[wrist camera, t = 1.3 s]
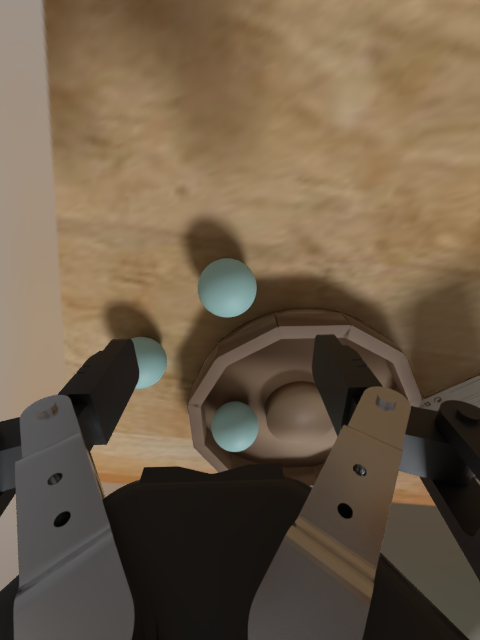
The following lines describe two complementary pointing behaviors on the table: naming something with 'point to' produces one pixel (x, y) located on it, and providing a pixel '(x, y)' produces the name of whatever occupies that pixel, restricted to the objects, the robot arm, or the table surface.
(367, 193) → the table surface
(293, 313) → the tray
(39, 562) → the robot arm
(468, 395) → the supplement box
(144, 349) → the bead
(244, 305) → the bead
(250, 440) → the bead
